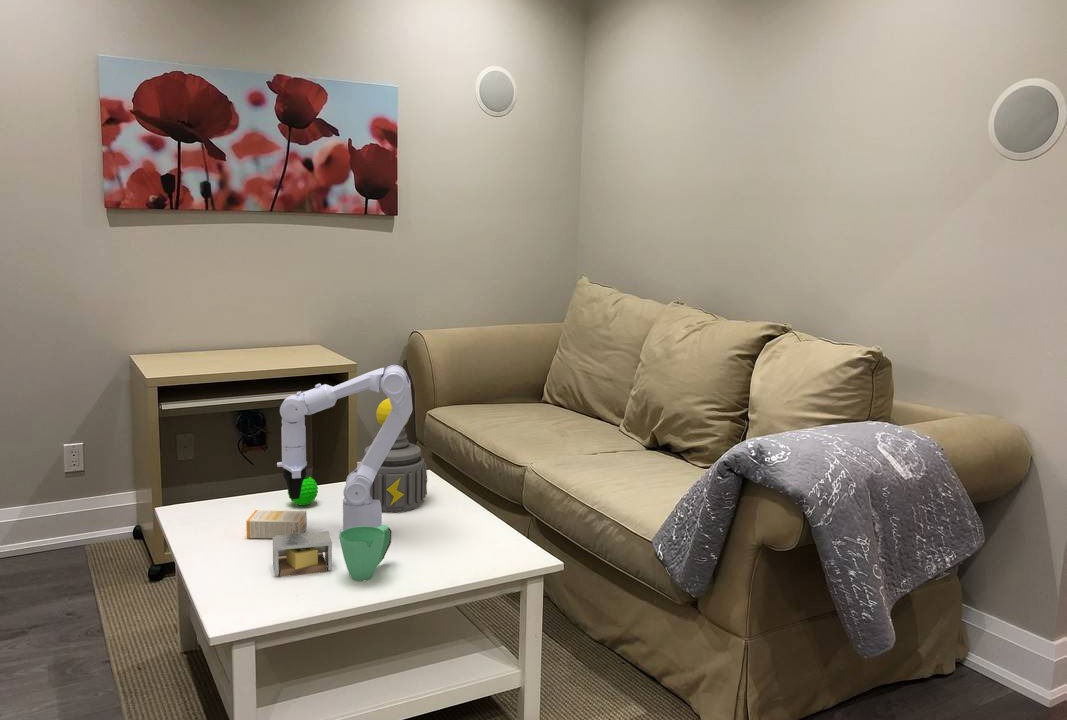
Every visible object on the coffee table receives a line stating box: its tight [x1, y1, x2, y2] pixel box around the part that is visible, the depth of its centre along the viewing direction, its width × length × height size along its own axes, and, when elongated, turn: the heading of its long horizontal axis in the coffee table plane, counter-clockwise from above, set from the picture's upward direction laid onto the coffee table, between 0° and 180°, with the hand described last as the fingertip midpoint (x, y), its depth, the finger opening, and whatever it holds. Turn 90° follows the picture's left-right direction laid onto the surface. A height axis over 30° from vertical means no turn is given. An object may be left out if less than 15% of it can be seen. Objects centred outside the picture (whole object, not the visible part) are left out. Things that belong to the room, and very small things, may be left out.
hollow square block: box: [286, 547, 318, 569], centre depth 200 cm, size 5×5×4 cm
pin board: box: [278, 548, 328, 577], centre depth 205 cm, size 10×16×6 cm, turn 19°
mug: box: [338, 524, 393, 582], centre depth 199 cm, size 15×10×10 cm
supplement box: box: [245, 509, 308, 539], centre depth 221 cm, size 8×5×13 cm
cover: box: [272, 530, 333, 577], centre depth 201 cm, size 12×7×7 cm, turn 109°
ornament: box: [287, 474, 319, 506], centre depth 243 cm, size 8×8×10 cm
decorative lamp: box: [360, 397, 428, 513], centre depth 246 cm, size 19×19×30 cm
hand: (294, 498), depth 219 cm, fingers closed
